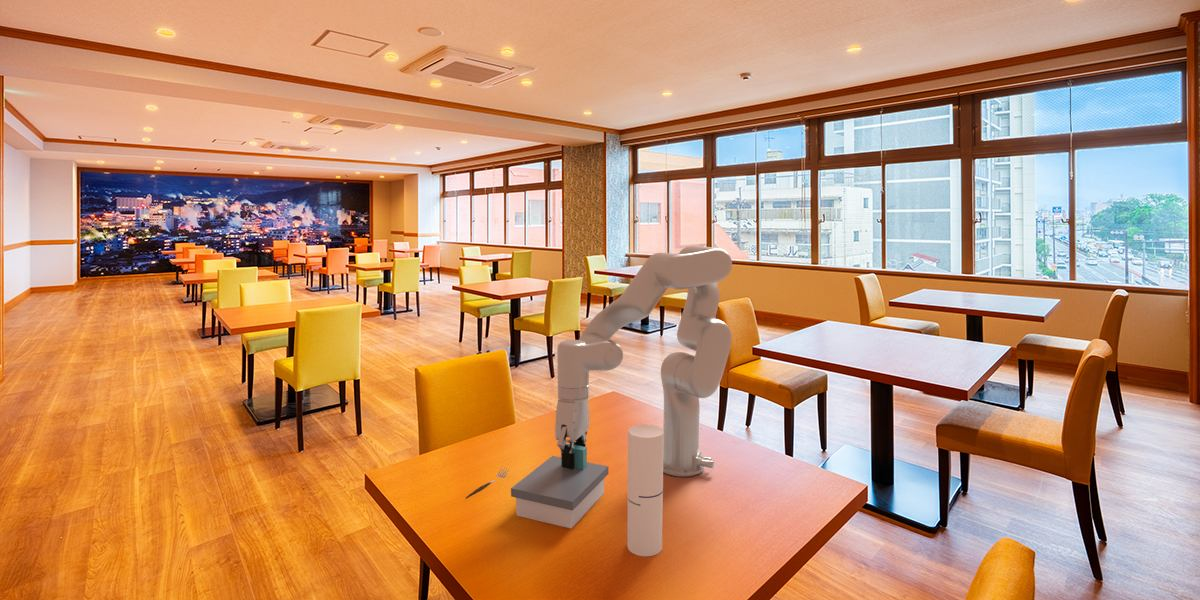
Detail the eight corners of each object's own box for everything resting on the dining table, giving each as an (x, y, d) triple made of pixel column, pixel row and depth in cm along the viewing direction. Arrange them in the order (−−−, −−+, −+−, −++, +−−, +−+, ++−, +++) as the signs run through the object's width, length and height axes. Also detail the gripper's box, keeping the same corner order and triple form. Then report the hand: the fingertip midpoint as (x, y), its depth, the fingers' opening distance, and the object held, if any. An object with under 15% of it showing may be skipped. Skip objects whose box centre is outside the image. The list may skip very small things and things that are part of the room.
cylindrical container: (660, 558, 116) (662, 438, 112) (624, 554, 118) (625, 436, 114) (663, 539, 123) (665, 425, 119) (630, 535, 124) (630, 423, 121)
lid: (608, 473, 143) (608, 446, 142) (572, 510, 125) (572, 479, 124) (552, 463, 149) (552, 437, 148) (511, 496, 132) (510, 467, 131)
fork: (461, 498, 142) (461, 490, 141) (502, 473, 155) (502, 466, 155) (470, 501, 140) (469, 493, 140) (510, 475, 154) (510, 468, 154)
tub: (604, 493, 143) (604, 470, 143) (571, 528, 127) (570, 502, 126) (554, 482, 149) (553, 460, 148) (516, 515, 133) (515, 490, 132)
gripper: (575, 380, 149) (575, 447, 152) (542, 399, 134) (543, 474, 137) (601, 384, 146) (602, 452, 149) (571, 404, 131) (571, 480, 134)
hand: (573, 462), depth 143 cm, fingers open, 5 cm apart
